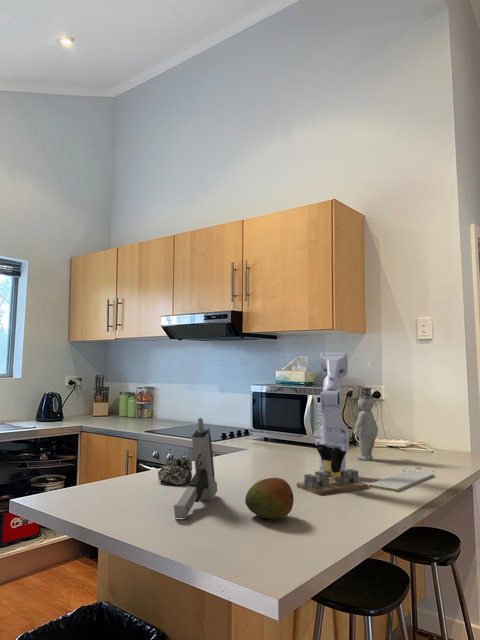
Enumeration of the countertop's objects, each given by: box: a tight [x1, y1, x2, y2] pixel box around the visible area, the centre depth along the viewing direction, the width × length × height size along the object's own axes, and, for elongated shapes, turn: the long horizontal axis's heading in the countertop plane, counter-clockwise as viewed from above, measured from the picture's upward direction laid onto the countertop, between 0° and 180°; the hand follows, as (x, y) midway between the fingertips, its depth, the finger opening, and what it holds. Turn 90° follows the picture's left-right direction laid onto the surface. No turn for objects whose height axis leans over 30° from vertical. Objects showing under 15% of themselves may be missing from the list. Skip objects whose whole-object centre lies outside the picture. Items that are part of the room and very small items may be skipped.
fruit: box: [245, 477, 294, 520], centre depth 122 cm, size 12×12×10 cm
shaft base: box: [296, 468, 369, 496], centre depth 154 cm, size 12×19×5 cm, turn 119°
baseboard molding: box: [368, 466, 435, 493], centre depth 164 cm, size 31×3×12 cm
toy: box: [353, 387, 379, 462], centre depth 205 cm, size 18×9×30 cm, turn 136°
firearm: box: [173, 417, 218, 519], centre depth 131 cm, size 4×24×25 cm
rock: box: [157, 456, 193, 486], centre depth 161 cm, size 13×10×10 cm
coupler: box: [323, 459, 341, 479], centre depth 155 cm, size 4×4×5 cm
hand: (331, 470), depth 155 cm, fingers closed on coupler, 4 cm apart
